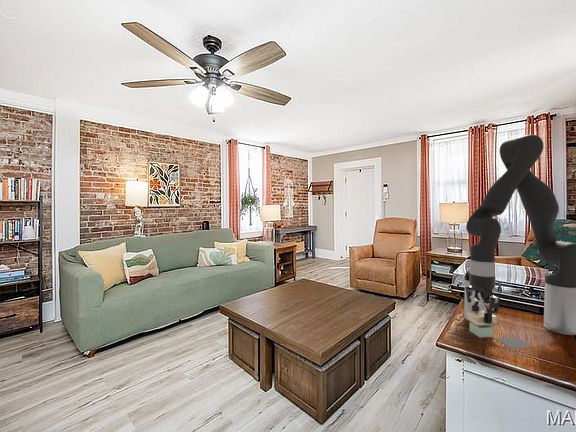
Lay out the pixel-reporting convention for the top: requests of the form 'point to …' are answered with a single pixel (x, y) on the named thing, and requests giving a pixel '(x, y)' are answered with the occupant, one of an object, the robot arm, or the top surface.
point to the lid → (480, 318)
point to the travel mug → (468, 304)
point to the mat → (514, 342)
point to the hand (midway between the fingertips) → (481, 319)
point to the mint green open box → (481, 330)
